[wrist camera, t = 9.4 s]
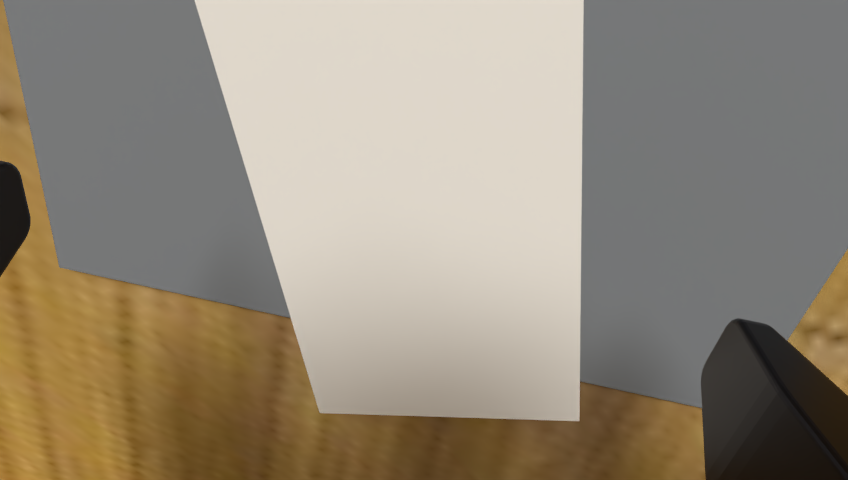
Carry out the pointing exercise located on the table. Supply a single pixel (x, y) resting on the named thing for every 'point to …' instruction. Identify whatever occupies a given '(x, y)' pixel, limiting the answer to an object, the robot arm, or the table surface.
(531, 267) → the block
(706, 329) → the mat
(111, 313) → the table surface
